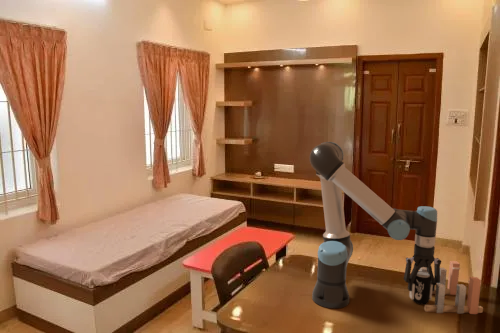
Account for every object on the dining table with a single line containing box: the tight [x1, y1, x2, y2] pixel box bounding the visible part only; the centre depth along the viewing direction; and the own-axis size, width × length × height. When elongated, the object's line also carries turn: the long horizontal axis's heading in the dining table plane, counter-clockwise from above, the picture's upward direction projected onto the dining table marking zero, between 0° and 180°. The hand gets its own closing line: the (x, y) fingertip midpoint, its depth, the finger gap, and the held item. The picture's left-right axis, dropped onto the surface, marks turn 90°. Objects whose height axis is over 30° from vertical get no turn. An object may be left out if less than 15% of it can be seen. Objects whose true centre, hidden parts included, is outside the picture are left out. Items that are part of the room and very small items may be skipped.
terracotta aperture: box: [447, 260, 482, 315], centre depth 160 cm, size 3×19×14 cm, turn 179°
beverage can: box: [411, 270, 431, 306], centre depth 161 cm, size 7×7×12 cm
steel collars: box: [419, 267, 467, 314], centre depth 161 cm, size 10×18×11 cm, turn 179°
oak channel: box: [424, 287, 484, 314], centre depth 161 cm, size 22×16×2 cm
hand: (420, 297), depth 161 cm, fingers closed on beverage can, 6 cm apart
